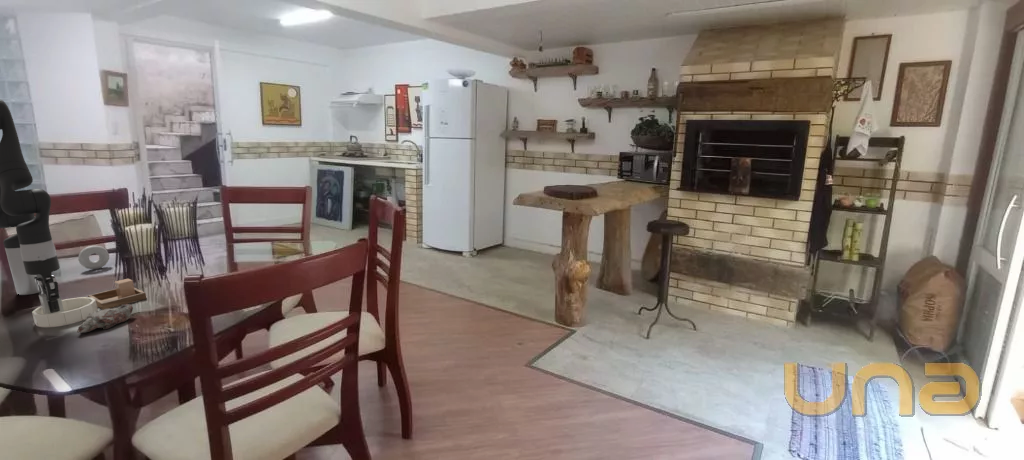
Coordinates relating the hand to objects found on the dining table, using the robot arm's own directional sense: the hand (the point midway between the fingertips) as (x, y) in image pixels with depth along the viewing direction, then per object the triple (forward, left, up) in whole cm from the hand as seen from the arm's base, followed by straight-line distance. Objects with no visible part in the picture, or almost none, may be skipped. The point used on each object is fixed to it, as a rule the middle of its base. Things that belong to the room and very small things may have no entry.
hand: (53, 310), depth 151 cm
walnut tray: (-5, +17, -4) cm, 18 cm away
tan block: (-5, +20, -3) cm, 21 cm away
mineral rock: (+17, +8, -4) cm, 19 cm away
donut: (-58, +26, -4) cm, 64 cm away
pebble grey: (0, 0, -1) cm, 1 cm away
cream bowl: (0, +3, -4) cm, 5 cm away
